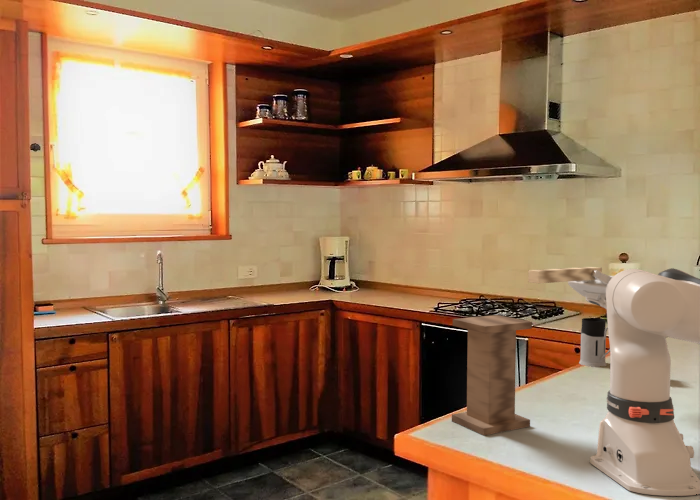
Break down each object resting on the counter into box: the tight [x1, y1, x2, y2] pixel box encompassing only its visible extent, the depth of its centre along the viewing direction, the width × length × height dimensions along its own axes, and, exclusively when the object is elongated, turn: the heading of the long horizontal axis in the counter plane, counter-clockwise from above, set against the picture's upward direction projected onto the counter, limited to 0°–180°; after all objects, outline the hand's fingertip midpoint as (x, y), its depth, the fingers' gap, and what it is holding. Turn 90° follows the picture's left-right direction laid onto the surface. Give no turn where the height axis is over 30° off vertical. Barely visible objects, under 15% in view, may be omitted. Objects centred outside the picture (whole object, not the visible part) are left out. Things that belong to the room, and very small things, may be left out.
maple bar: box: [527, 266, 603, 284], centre depth 169 cm, size 22×4×3 cm, turn 118°
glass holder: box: [578, 317, 610, 368], centre depth 220 cm, size 9×14×15 cm, turn 21°
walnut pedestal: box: [451, 314, 533, 436], centre depth 159 cm, size 14×12×25 cm
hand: (585, 271), depth 172 cm, fingers closed on maple bar, 3 cm apart
